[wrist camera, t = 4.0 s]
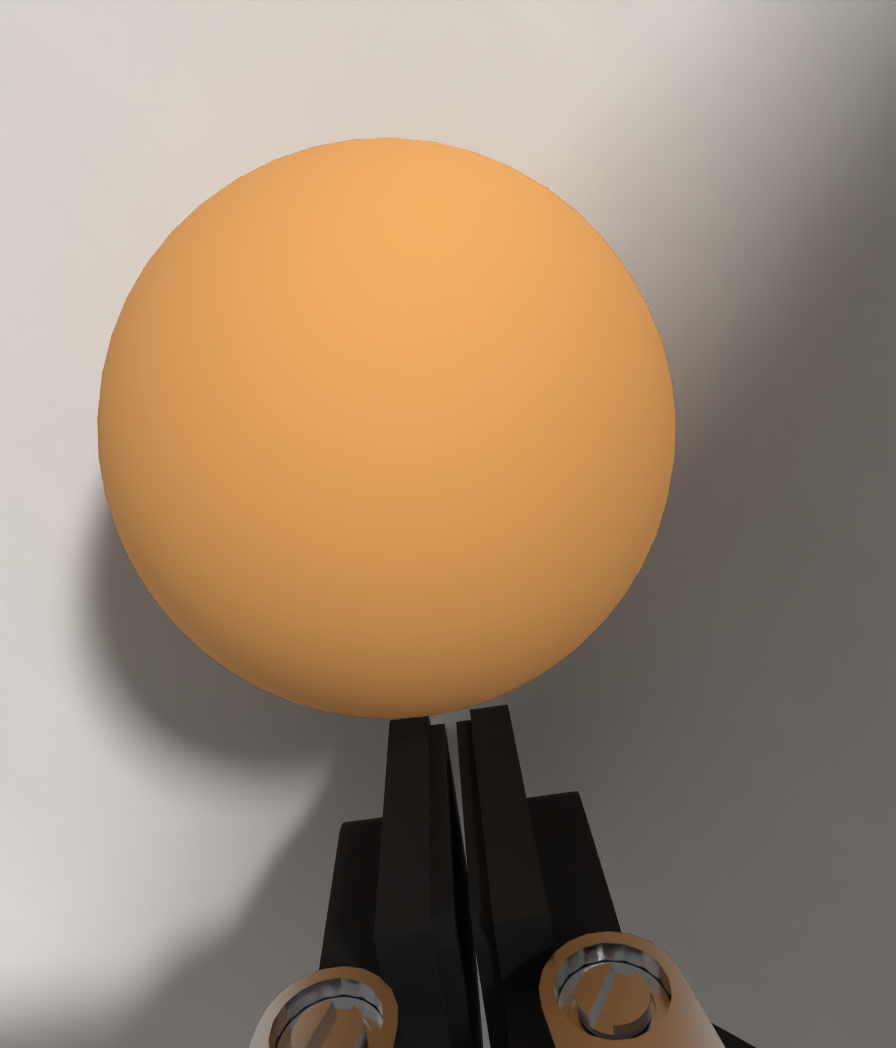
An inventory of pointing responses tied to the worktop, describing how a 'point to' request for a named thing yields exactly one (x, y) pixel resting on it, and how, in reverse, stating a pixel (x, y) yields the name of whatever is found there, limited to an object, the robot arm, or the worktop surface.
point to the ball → (386, 428)
